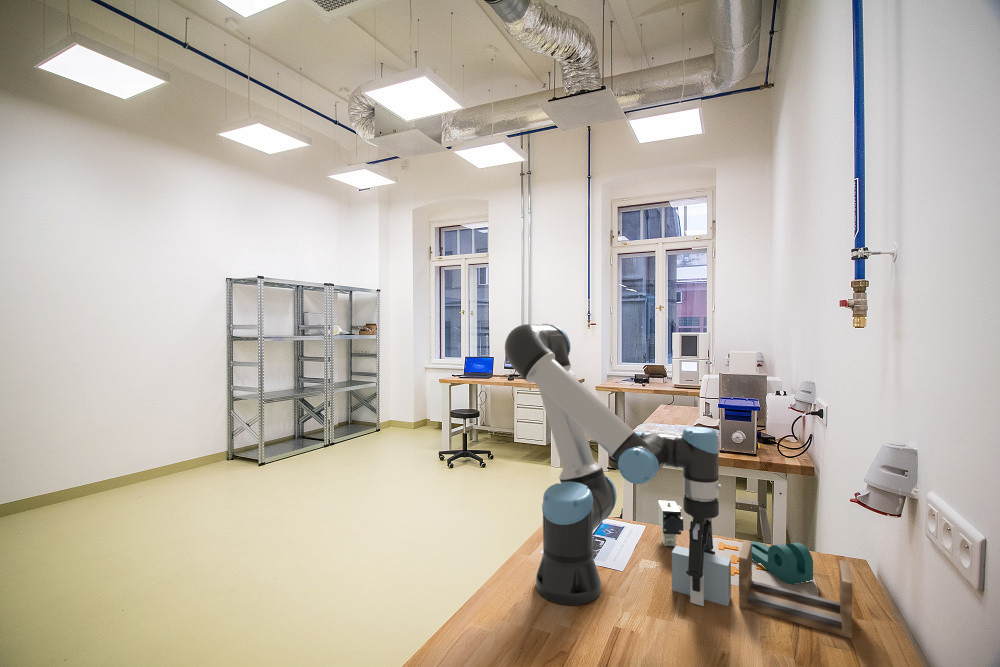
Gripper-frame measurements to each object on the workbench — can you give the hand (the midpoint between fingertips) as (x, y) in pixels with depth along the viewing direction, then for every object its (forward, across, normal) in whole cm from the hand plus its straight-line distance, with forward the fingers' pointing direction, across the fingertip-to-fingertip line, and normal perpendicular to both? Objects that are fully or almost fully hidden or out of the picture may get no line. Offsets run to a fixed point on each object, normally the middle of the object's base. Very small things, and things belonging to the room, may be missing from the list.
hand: (701, 592), depth 109 cm
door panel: (0, 0, 0) cm, 0 cm away
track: (0, +4, -18) cm, 18 cm away
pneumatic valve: (0, +22, +12) cm, 25 cm away
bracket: (+1, +24, -13) cm, 27 cm away
